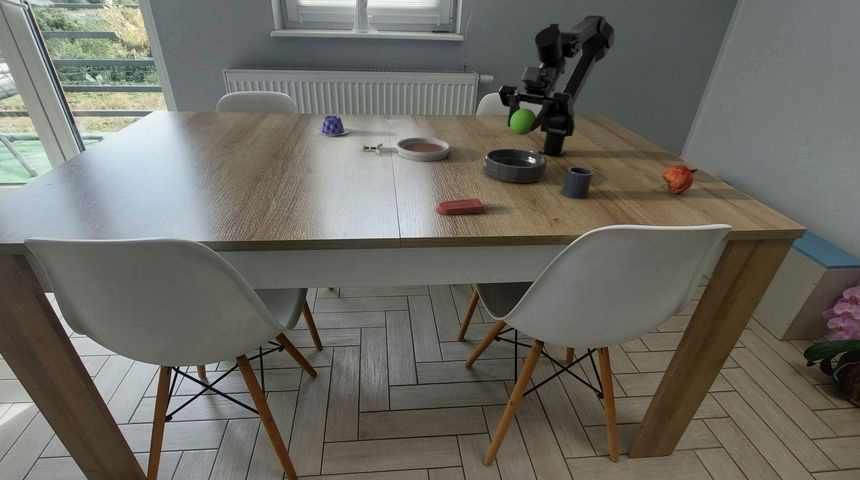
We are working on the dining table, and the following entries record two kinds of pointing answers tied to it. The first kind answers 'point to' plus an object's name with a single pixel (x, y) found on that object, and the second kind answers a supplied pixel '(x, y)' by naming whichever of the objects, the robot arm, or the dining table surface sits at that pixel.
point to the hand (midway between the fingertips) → (519, 128)
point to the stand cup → (577, 182)
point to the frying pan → (418, 149)
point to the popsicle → (463, 206)
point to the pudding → (332, 126)
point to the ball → (522, 121)
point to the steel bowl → (514, 165)
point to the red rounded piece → (678, 178)
